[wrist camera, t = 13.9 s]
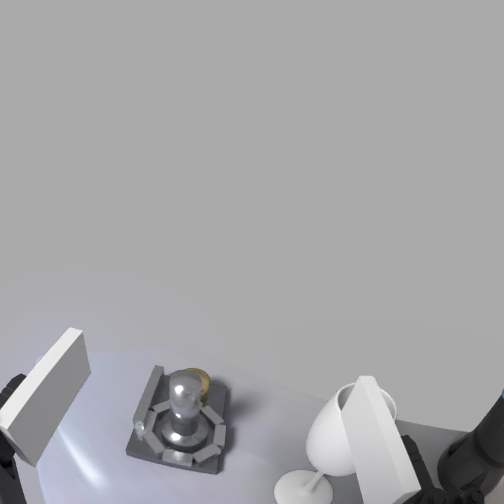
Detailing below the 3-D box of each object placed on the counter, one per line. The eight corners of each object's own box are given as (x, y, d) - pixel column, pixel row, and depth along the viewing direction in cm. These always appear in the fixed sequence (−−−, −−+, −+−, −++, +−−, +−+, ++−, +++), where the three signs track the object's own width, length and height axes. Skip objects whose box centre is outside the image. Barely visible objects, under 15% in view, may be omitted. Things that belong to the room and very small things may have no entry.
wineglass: (265, 477, 32) (309, 383, 25) (318, 464, 35) (375, 369, 28) (286, 524, 24) (354, 450, 17) (342, 505, 27) (422, 420, 20)
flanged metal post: (209, 420, 40) (216, 367, 36) (205, 454, 33) (211, 405, 29) (166, 412, 39) (164, 357, 35) (156, 445, 32) (151, 394, 29)
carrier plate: (228, 392, 48) (233, 367, 46) (220, 475, 31) (225, 455, 29) (156, 378, 48) (155, 352, 46) (126, 455, 30) (119, 432, 28)
